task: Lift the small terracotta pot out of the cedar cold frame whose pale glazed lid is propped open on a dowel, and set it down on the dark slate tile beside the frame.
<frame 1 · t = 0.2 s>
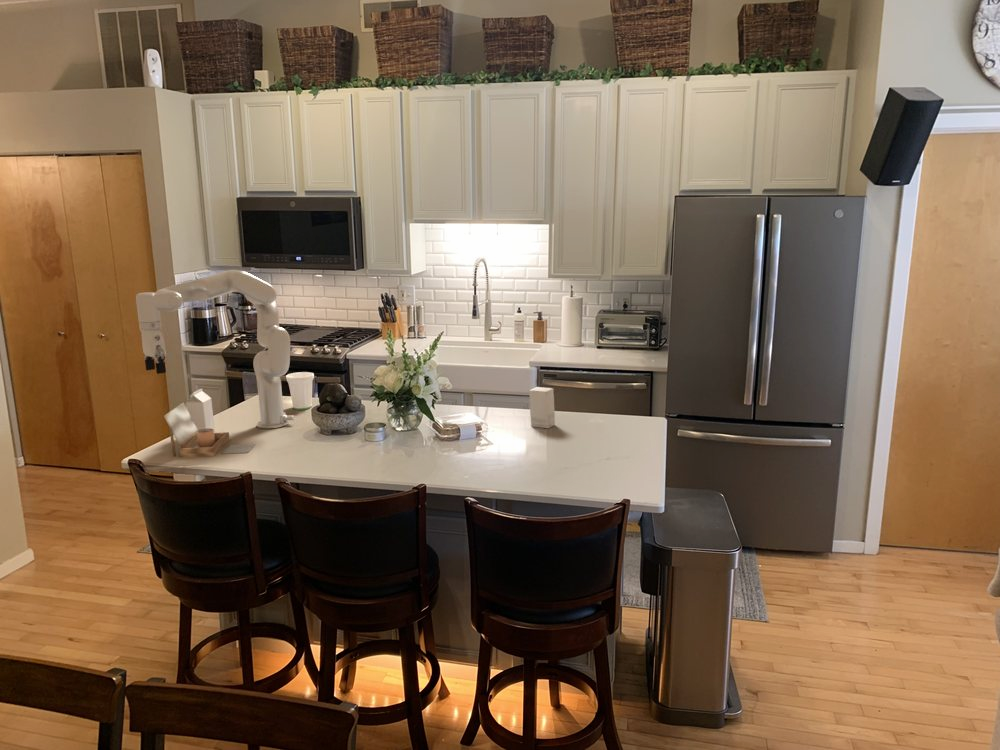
hand: (155, 371, 282), 31 cm above the kitchen island, tool pointing down, fingers open, 9 cm apart
cup: (302, 407, 347), on the kitchen island
pot: (207, 448, 288), resting on cold frame
skincare box: (542, 426, 308), on the kitchen island
cold frame: (206, 449, 288), on the kitchen island
milk carton: (202, 436, 305), on the kitchen island
slate tile: (238, 450, 286), on the kitchen island
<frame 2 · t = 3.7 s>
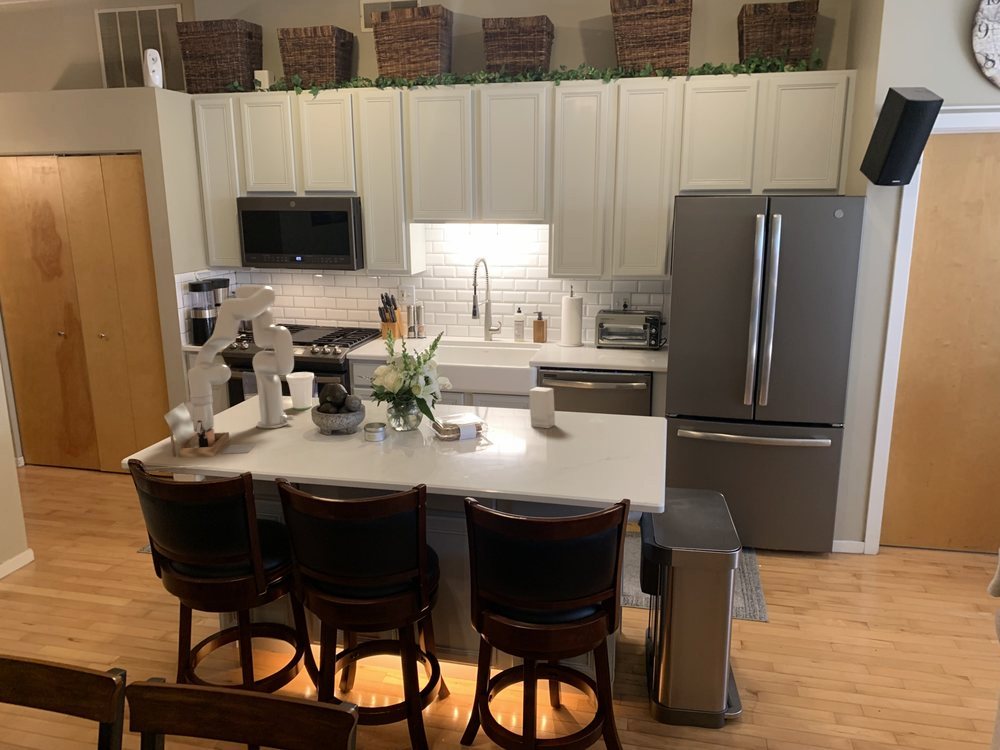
hand: (207, 445, 288), 1 cm above the kitchen island, tool pointing down, fingers closed on pot, 6 cm apart
pot: (207, 448, 288), resting on cold frame, touching gripper
everything else where it was.
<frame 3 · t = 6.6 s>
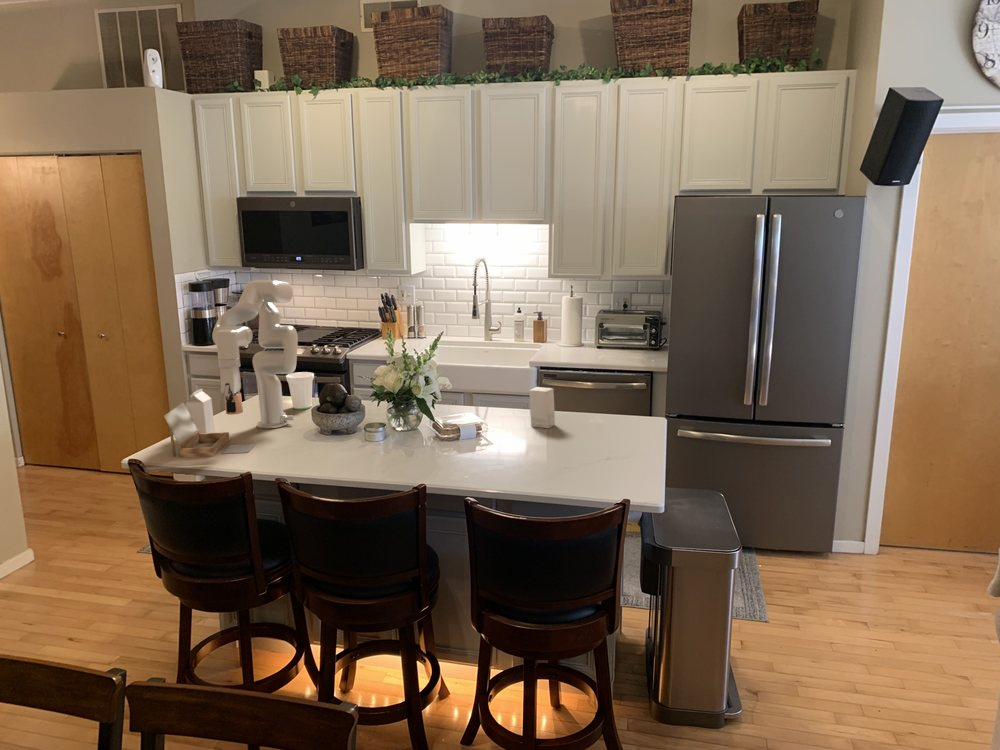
hand: (234, 409, 282), 16 cm above the kitchen island, tool pointing down, fingers closed on pot, 6 cm apart
pot: (234, 412, 282), point 15 cm above the kitchen island, touching gripper
everything else where it was.
when the fingers open (3 cm above the kitchen island, at t = 9.7 s): pot drops 1 cm, resting on slate tile.
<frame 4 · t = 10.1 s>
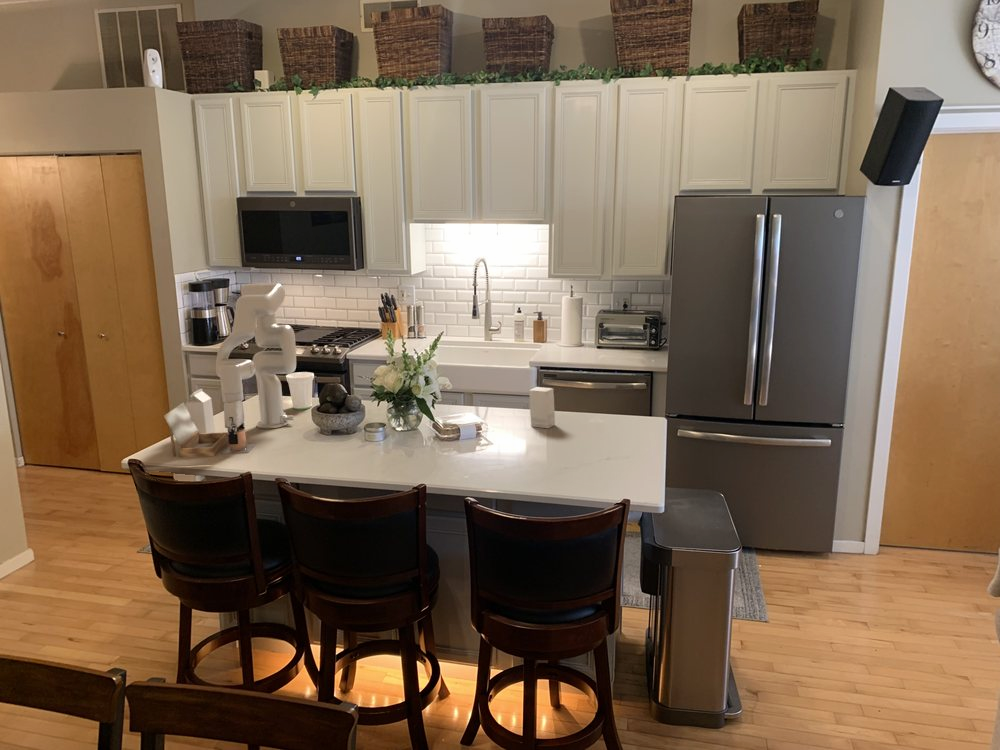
hand: (237, 440, 285), 4 cm above the kitchen island, tool pointing down, fingers open, 9 cm apart
pot: (238, 448, 285), point 1 cm above the kitchen island, touching slate tile
everything else where it was.
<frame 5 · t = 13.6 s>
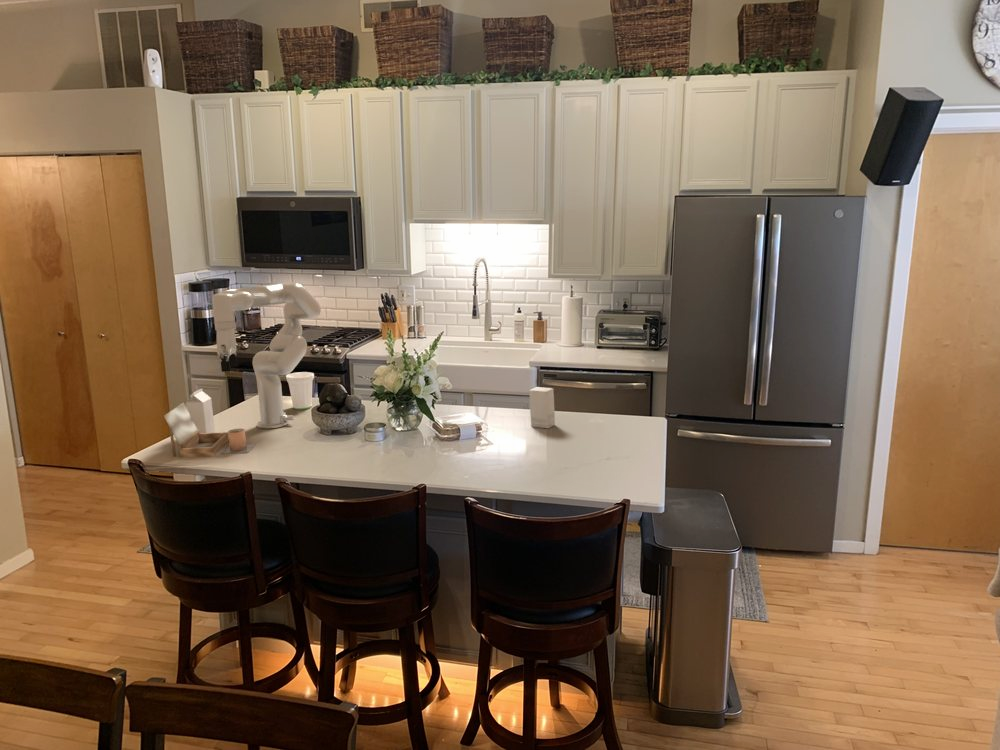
hand: (229, 368, 295), 28 cm above the kitchen island, tool pointing down, fingers open, 9 cm apart
nothing on the kitchen island moved.
at the end: pot inside the target area on the slate tile (0.1 cm from its centre), point 0.7 cm above the slate tile's base; pot tilted 1°; the gripper is holding nothing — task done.
